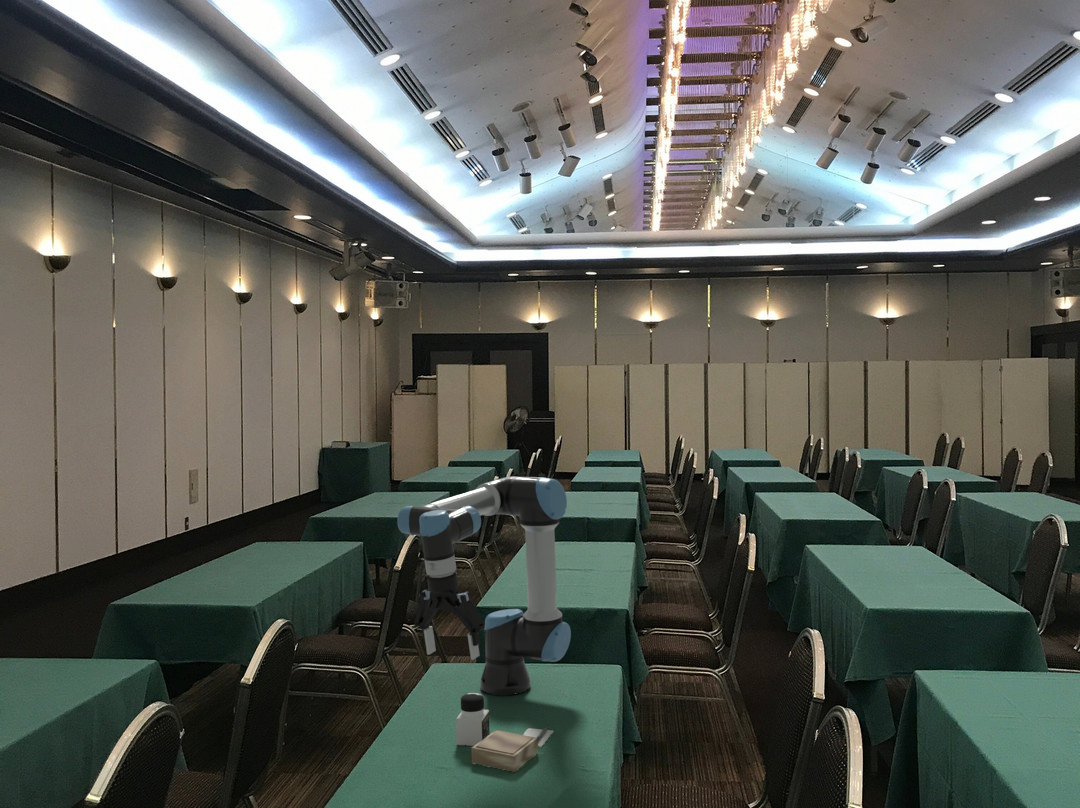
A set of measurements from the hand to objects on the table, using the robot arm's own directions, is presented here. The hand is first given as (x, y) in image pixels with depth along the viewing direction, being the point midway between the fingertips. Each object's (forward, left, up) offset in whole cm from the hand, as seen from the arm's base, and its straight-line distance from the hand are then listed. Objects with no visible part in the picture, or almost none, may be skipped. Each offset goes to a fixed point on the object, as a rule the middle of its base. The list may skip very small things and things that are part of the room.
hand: (453, 655), depth 229 cm
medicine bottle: (-9, 0, -26) cm, 27 cm away
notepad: (-17, +14, -26) cm, 34 cm away
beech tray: (-3, +13, -25) cm, 28 cm away
